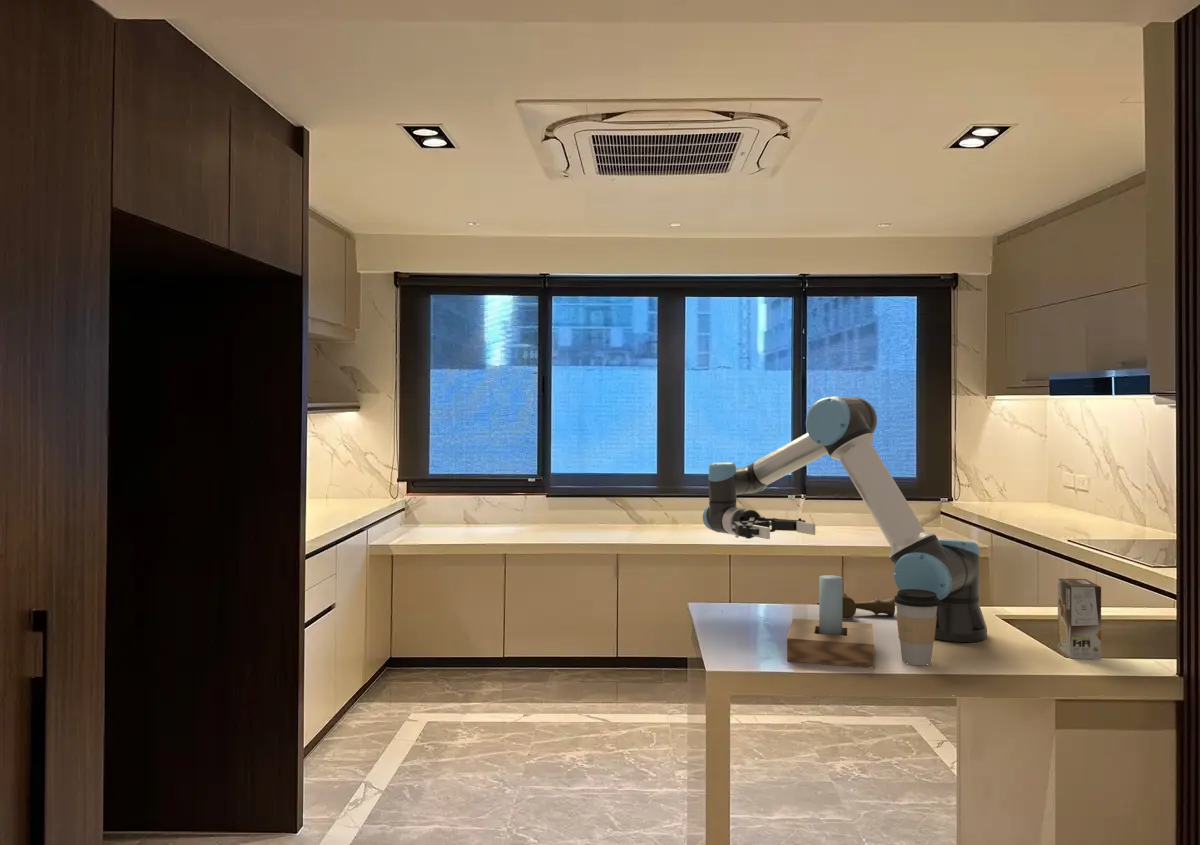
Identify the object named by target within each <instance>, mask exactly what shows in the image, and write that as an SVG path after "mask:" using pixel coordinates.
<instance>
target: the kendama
mask: <svg viewBox="0 0 1200 845" xmlns="http://www.w3.org/2000/svg"><path fill="white" fill-rule="evenodd" d="M894 599H895V598H893V597H888V598H887V599H879V598H877V597H875V598H874V599H872V600H868V601H867V600H866V601H859V602H858V601H857V602H855V600H854V599H853V598H851V597H848V595H847V594H846V593H845V592H843V591H842V618H850V619H852V618H853V617H854V616H855V615H856V611H857V609H858V610H863V611H867V612H871V613H874V614H875V615H879V614H885V615H888V616H889V617H891V616H893V617H894V616H895V613H896V602H894ZM816 604H817V606H819V602H817V603H816Z"/></svg>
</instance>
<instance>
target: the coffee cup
mask: <svg viewBox="0 0 1200 845" xmlns="http://www.w3.org/2000/svg"><path fill="white" fill-rule="evenodd" d="M896 594H897V595H895V596H894V598H893V599H894V602H895V609H896V612H895V613H896V622H897V623H896V624H897V634H898V638H899V645H900V654H901V655H900V656H901V661H902V662H903V663H904V662H905V664H907V663H908V665H910V664H912V665H911V666H916V665H925V666H928V665H927V664H929V665H931V664H932V659H933V658H932V657H933V648H934V642H935V629H936V620H937V616H936V613H937V606H938V605H940V600H939V599H938V598H937V595H936V593H934V592H931V591H927V590H920V589H904V590H899V589H898V591H897V593H896ZM930 663H931V664H930Z"/></svg>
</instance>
